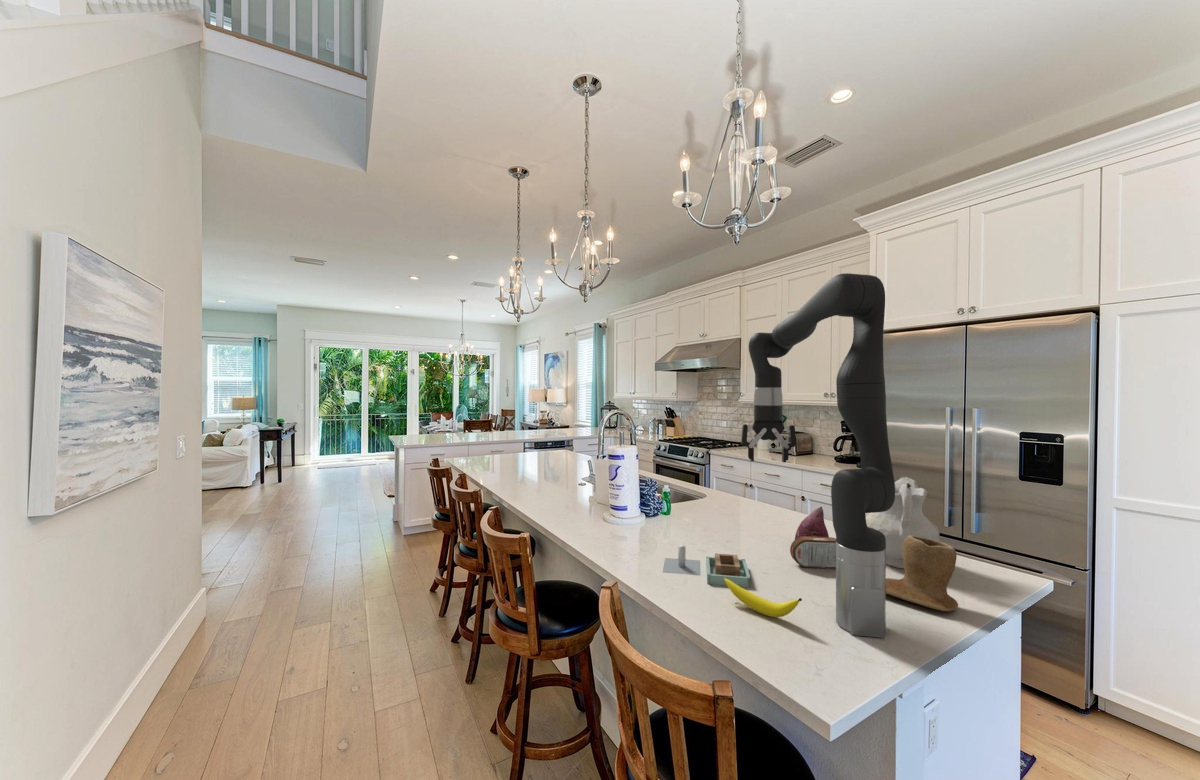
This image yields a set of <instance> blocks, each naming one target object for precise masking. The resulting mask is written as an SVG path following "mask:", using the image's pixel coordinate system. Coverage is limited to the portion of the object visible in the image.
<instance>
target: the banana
mask: <svg viewBox="0 0 1200 780" xmlns="http://www.w3.org/2000/svg"><path fill="white" fill-rule="evenodd" d="M724 580H725V583H726V584H727V585H726V586H727V588H728V589H729V590H730V591H731V593H732V594H733V595H734V596H735V597H736V599H738V600H739V601H740V602H742V603H743V604H745V605H746V606H748V607H749V608H750V609H752V610H754V611H756V613H757V612H758V613H760V614H762V615H764V616H768V617H771V618H772V617H773V618H782V617H783V618H784V617H785V616H787V615H789V614H790V613H792V612H793V611H794V610H795V609H796V607H797V606H798V605H799V603H800V602H801V601H802V598H801V597H800V598H799V599H792V600H788V601H786V602H781V603H777V602H773V601H770V600H767V599H764V598H762V597H760V596H758V595H756V594H754V593H752V592H750V591H748V590H747V589H745V588H744V587H740V586H738V585H736V584H735V583H733V582H732V581H730V580H728V579H726V578H724Z"/></svg>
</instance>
